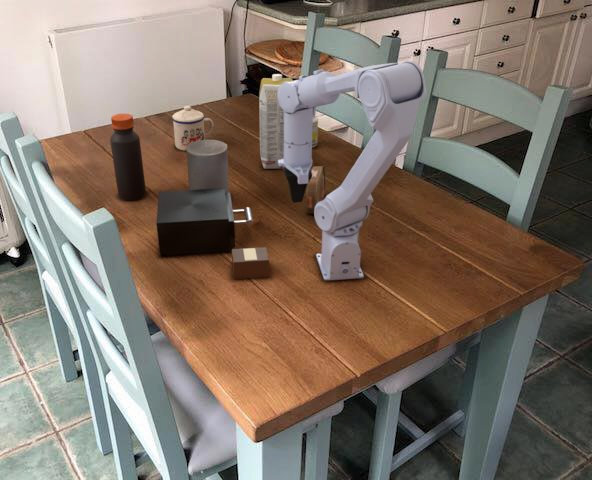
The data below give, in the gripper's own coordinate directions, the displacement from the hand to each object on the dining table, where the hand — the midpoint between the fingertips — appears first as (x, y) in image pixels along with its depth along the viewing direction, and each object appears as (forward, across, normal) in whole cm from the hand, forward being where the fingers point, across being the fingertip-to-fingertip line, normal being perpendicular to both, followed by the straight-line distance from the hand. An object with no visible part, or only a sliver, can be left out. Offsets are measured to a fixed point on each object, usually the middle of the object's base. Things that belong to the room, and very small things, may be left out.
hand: (296, 200), depth 134 cm
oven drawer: (+8, -3, -18) cm, 20 cm away
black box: (+9, -3, -22) cm, 24 cm away
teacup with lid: (+9, -57, -21) cm, 61 cm away
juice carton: (+9, -40, +1) cm, 41 cm away
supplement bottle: (+8, -52, +12) cm, 54 cm away
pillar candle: (+9, -21, -18) cm, 29 cm away
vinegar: (+9, -26, -37) cm, 46 cm away
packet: (+9, +12, -11) cm, 19 cm away
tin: (+9, -15, +7) cm, 19 cm away
